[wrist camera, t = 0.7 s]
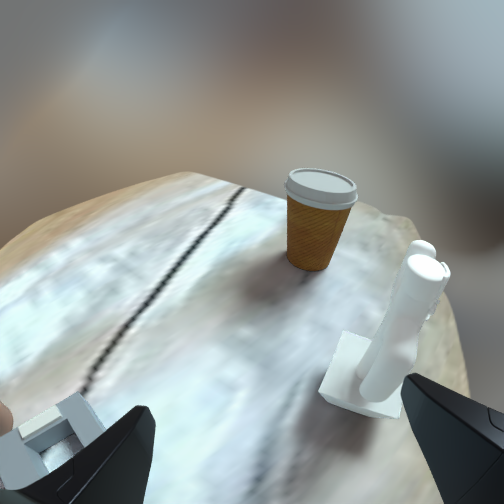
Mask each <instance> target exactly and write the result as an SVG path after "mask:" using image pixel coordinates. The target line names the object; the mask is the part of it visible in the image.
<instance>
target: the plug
mask: <svg viewBox="0 0 504 504" xmlns="http://www.w3.org/2000/svg"><path fill="white" fill-rule="evenodd" d="M12 427H13V416H12V413H11V411H10V410H9V409H8V408H7V407H6V406H5V405H4V404H3V403H2V402H1V401H0V437H1V436H3V435H5V434H7V433H8V432H10V431H11V430H12Z"/></svg>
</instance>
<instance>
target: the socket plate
mask: <svg viewBox="0 0 504 504" xmlns="http://www.w3.org/2000/svg"><path fill="white" fill-rule="evenodd" d="M105 431H106V429H105V427H104V426H103V424H102V423H101V422H100V420H99V419H98V417H97V415H96V414H95V412H94V411H93V409H92V408H91V406H90V404H89V403H88V402H87V401H86V400H85V399H84V398H83V396H82V395H81V394H80V393H79V392H78V391H77V392H76V393H74V394H73V395H71V396H69V397H68V398H66V399H64V400H63V401H61V402H59V403H58V404H56V405H54V406H52V407H51V408H49V409H47V410H46V411H44V412H42V413H40V414H39V415H37V416H35V417H34V418H32V419H30V420H29V421H27V422H25V423H23V424H22V425H20V426H18V427H17V428H15V429H14V430H12V431H10V432H8V433H7V434H5V435H3V436H1V437H0V477H1V480H2V482H3V484H4V486H5V489H7V490H17V489H21V488H24V487H26V486H28V485H30V484H32V483H34V482H35V481H37V480H39V479H41V478H42V477H44V476H46V475H48V474H49V472H48V470H47V468H46V466H45V464H44V463H43V461H42V459H41V457H40V455H39V453H40V452H42V451H44V450H45V449H47V448H49V447H51V446H52V445H54V444H56V443H57V442H59V441H61V440H63V439H64V438H66V437H68V436H69V435H71V434H73V433H74V432H75V433H76V435H77V436H78V438H79V440H80V441H81V443H82V445H83V446H84V448H85V447H86V446H87V445H89V444H90V443H91V442H92V441H94V440H95V439H96V438H97V437H99V436H100V435H101V434H102V433H103V432H105Z"/></svg>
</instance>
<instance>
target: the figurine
mask: <svg viewBox="0 0 504 504" xmlns="http://www.w3.org/2000/svg"><path fill="white" fill-rule="evenodd" d="M435 257H436V251H435V248H434V247H433V246H432V245H431V244H429V243H427V242H425V241H422V240H416V241H413V242H412V243H411V244H410V245H409V247H408V250H407V252H406V255H405V257H404V260H403V262H402V265H401V267H400V269H399V271H398V274H397V276H396V278H395V281H394V284H393V288H392V293H391V300H390V305H389V308H388V310H387V312H386V315H385V317H384V319H383V321H382V323H381V325H380V327H379V329H378V331H377V333H376V335H375V336H374V338H373V340H370V339H368V338H365V337H362V336H359V335H357V334H354V333H351V332H349V331H346V330H343V333H342V335H341V338H340V341H339V343H338V346H337V348H336V351H335V353H334V356H333V358H332V360H331V363H330V365H329V368H328V370H327V372H326V375H325V377H324V379H323V381H322V384H321V386H320V388H319V390H318V392H319V393H320V394H321V395H322V396H323V397H324V399H325V400H326V401H327V402H328V403H331V404H333V405H336V406H339V407H342V408H345V409H347V410H350V411H353V412H356V413H359V414H362V415H365V416H368V417H374V418H390V419H399V416H400V412H401V407H402V403H403V402H402V399H401V395H400V392H401V388H402V384H403V380H404V377H405V376H406V375H409V373H410V372H411V370H412V368H413V366H414V364H415V361H416V355H417V346H418V336H419V332H420V330H421V327H422V325H423V323H424V321H427V320H428V319H429V317H430V315H433V314H434V312H435V310H436V307H437V304H439V302H440V301H439V300H437V299H438V298H439V297H440V295H441V294H442V292H443V290H444V288H445V286H446V283H447V282H448V279H449V277H450V270H449V268H448V266H447V265H446V264H445V263H444V262H441V263H439V262H438V261H436V260H435Z"/></svg>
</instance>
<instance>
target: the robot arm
mask: <svg viewBox="0 0 504 504" xmlns="http://www.w3.org/2000/svg"><path fill="white" fill-rule="evenodd" d="M400 395H401V399H402V402H403V405H404V408H405V411H406V413H407V416H408V419H409V422H410V425H411V428H412V431H413V433H414V435H415V437H416V439H417V442H418V444H419V446H420V448H421V450H422V452H423V455H424V457H425V459H426V461H427V464H428V466H429V468H430V471H431V473H432V475H433V478H434V480H435V482H436V485H437V487H438V490H439V492H440V495H441V497H442V500H443V502H444V504H504V414H503V413H501V412H498V411H496V410H494V409H491V408H489V407H488V408H487V407H486V406H485V405H482V404H480V403H478V402H476V401H474V400H472V399H469V398H467V397H465V396H463V395H461V394H459V393H457V392H455V391H452V390H450V389H448V388H446V387H444V386H442V385H440V384H438V383H436V382H434V381H432V380H430V379H428V378H426V377H424V376H422V375H420V374H418V373H412V374H409V375H406V376H405V377H404V380H403V384H402V388H401V392H400ZM155 428H156V423H155V420H154V418H153V416H152V414H151V412H150V410H149V408H148V407H147V406H141V405H137V406H135V407H134V408H132V409H131V410H130V411H129V412H128V413H126V414H125V415H124V416H123V417H122V418H120V419H119V420H118V421H117V422H116V423H114V424H113V425H112V426H111V427H110V428H108V429H107V430H106V431H105V432H103V433H102V434H101V435H100V436H99V437H97V438H96V439H95V440H94V441H92V442H91V443H90V444H89V445H87V446H86V447H85V448H84V449H82V450H81V451H80V452H78V453H77V454H76V455H75V456H73V458H71V459H69V460H68V461H67V462H65V463H64V464H63V465H61V466H60V467H58V468H57V469H56V470H54V471H52V472H51V473H49V474H48V475H46V476H44V477H42V478H41V479H39V480H37V481H35V482H34V483H32V484H30V485H28V486H26V487H24V488H21V489H17V490H7V489H0V504H143V501H144V496H145V491H146V486H147V482H148V477H149V472H150V468H151V463H152V456H153V446H154V437H155Z"/></svg>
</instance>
